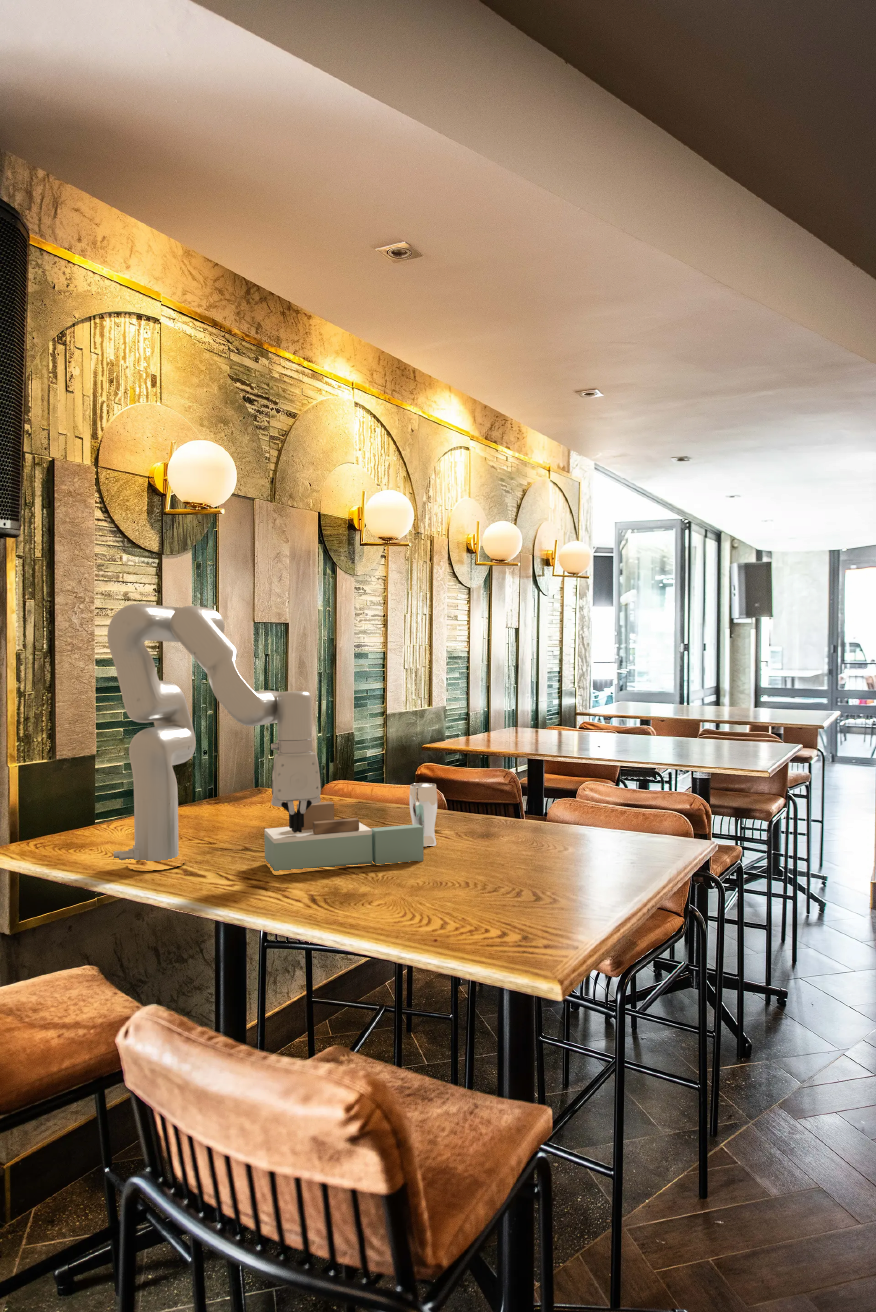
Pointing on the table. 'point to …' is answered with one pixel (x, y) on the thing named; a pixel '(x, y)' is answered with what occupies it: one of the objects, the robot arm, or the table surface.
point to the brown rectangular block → (336, 826)
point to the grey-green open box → (349, 849)
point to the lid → (312, 814)
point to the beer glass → (424, 809)
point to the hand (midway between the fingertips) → (296, 831)
